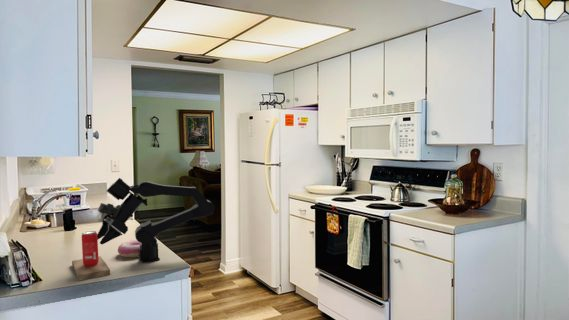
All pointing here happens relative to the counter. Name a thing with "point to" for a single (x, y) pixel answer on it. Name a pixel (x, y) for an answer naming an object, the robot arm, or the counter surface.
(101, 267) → the walnut board
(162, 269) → the counter surface
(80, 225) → the counter surface
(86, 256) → the beverage can
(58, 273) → the counter surface
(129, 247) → the donut
